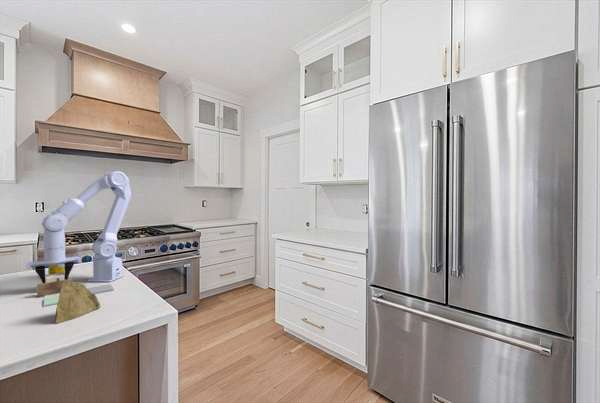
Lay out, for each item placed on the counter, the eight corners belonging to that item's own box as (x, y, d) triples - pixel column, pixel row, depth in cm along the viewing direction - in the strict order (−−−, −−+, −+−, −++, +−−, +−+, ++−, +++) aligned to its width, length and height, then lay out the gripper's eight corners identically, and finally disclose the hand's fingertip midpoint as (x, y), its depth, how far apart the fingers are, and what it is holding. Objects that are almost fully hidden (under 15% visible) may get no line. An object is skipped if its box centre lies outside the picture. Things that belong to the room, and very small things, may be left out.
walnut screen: (71, 289, 98) (71, 278, 98) (72, 291, 96) (72, 280, 96) (37, 295, 92) (37, 283, 92) (36, 297, 90) (36, 286, 90)
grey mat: (110, 285, 103) (110, 284, 103) (113, 290, 97) (113, 289, 97) (87, 289, 98) (87, 288, 98) (89, 295, 93) (89, 293, 93)
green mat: (72, 294, 93) (72, 293, 93) (73, 300, 88) (73, 299, 88) (44, 299, 88) (44, 298, 88) (43, 306, 83) (43, 305, 83)
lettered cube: (64, 285, 102) (64, 272, 102) (64, 289, 98) (64, 275, 98) (46, 288, 98) (45, 274, 98) (45, 292, 95) (45, 278, 95)
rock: (102, 295, 87) (62, 297, 81) (105, 278, 83) (62, 279, 77) (97, 327, 79) (51, 332, 74) (99, 310, 75) (51, 313, 70)
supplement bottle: (45, 277, 111) (44, 253, 111) (60, 273, 116) (59, 251, 116) (54, 278, 110) (53, 254, 109) (69, 274, 115) (68, 252, 114)
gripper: (79, 243, 106) (80, 278, 106) (27, 248, 96) (27, 286, 96) (81, 246, 101) (81, 282, 101) (25, 251, 91) (26, 291, 91)
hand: (55, 284), depth 98 cm, fingers closed on lettered cube, 5 cm apart
